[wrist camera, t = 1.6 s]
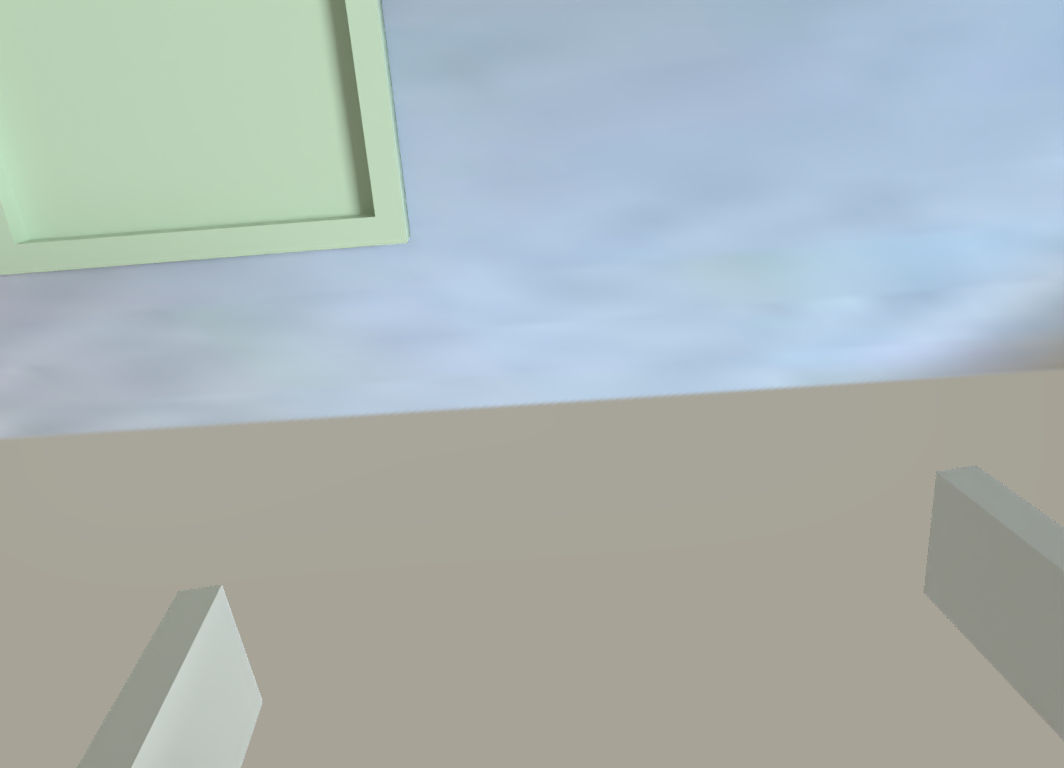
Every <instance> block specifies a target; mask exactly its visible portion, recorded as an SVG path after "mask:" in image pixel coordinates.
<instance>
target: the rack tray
mask: <svg viewBox="0 0 1064 768" xmlns="http://www.w3.org/2000/svg"><path fill="white" fill-rule="evenodd" d="M409 238H410V228H409V220H408V212H407V204H406V196H405V188H404V180H403V172H402V164H401V156H400V147H399V139H398V131H397V123H396V115H395V107H394V99H393V91H392V83H391V75H390V66H389V58H388V50H387V42H386V34H385V26H384V18H383V10H382V2H381V0H0V275H9V274H22V273H34V272H47V271H60V270H72V269H85V268H97V267H110V266H123V265H135V264H148V263H161V262H173V261H186V260H198V259H211V258H224V257H236V256H249V255H261V254H274V253H287V252H299V251H312V250H325V249H337V248H350V247H362V246H375V245H388V244H400V243H408V240H409Z"/></svg>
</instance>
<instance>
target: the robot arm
mask: <svg viewBox="0 0 1064 768" xmlns="http://www.w3.org/2000/svg"><path fill="white" fill-rule="evenodd" d="M924 593H925V594H926V596H927V597H928V598H929V599H930V600H931V601H932V602H933V603H934V604H935V605H936V606H937V607H938V608H939V609H940V610H941V611H942V612H943V614H944V615H945V616H946V617H947V618H948V619H949V620H950V621H951V622H952V623H953V624H954V625H955V626H956V627H957V628H958V629H959V630H960V632H961V633H962V634H963V635H964V636H965V637H966V638H967V639H968V640H969V641H970V642H971V643H972V644H973V645H974V646H975V647H976V648H977V649H978V650H979V652H980V653H981V654H982V655H983V656H984V657H985V658H986V659H987V660H988V661H989V662H990V663H991V664H992V665H993V666H994V668H995V669H996V670H997V671H998V672H999V673H1000V674H1001V675H1002V676H1003V677H1004V678H1005V679H1006V680H1007V681H1008V682H1009V683H1010V684H1011V686H1012V687H1014V689H1015V690H1016V691H1017V692H1018V693H1019V694H1020V695H1021V696H1022V697H1023V698H1024V699H1025V700H1026V701H1027V703H1028V704H1030V706H1031V707H1032V708H1033V709H1034V710H1035V711H1036V712H1037V713H1038V714H1039V715H1040V716H1041V717H1042V718H1043V719H1044V721H1046V723H1047V724H1048V725H1049V726H1050V727H1051V728H1052V729H1053V730H1054V731H1055V732H1056V733H1057V734H1058V735H1059V736H1060V738H1061V739H1062V740H1063V741H1064V527H1063V526H1061V525H1060V524H1058V523H1057V522H1056V521H1054V520H1053V519H1051V518H1050V517H1048V516H1047V515H1046V514H1044V513H1043V512H1041V511H1040V510H1038V509H1037V508H1036V507H1034V506H1033V505H1031V504H1030V503H1029V502H1027V501H1026V500H1024V499H1023V498H1022V497H1020V496H1019V495H1017V494H1016V493H1014V492H1013V491H1012V490H1010V489H1009V488H1007V487H1006V486H1005V485H1003V484H1002V483H1000V482H999V481H997V480H996V479H994V478H993V477H992V476H990V475H989V474H987V473H986V472H985V471H983V470H982V469H980V468H979V467H978V466H970V467H964V468H957V469H951V470H945V471H939V472H936V479H935V489H934V498H933V509H932V518H931V528H930V537H929V547H928V557H927V567H926V576H925V586H924ZM262 702H263V701H262V698H261V695H260V692H259V689H258V687H257V684H256V681H255V678H254V675H253V672H252V670H251V667H250V664H249V661H248V658H247V655H246V652H245V649H244V647H243V644H242V641H241V638H240V635H239V632H238V629H237V626H236V624H235V621H234V618H233V615H232V612H231V609H230V606H229V604H228V601H227V598H226V595H225V592H224V590H223V586H222V585H216V586H210V587H203V588H198V589H191V590H184V591H178V593H177V595H176V597H175V598H174V600H173V602H172V603H171V605H170V607H169V608H168V610H167V612H166V614H165V615H164V617H163V619H162V621H161V622H160V624H159V626H158V628H157V629H156V631H155V633H154V634H153V636H152V638H151V640H150V642H149V643H148V645H147V647H146V648H145V650H144V652H143V654H142V655H141V657H140V659H139V660H138V662H137V664H136V666H135V667H134V669H133V671H132V673H131V674H130V676H129V678H128V680H127V681H126V683H125V685H124V686H123V688H122V690H121V692H120V693H119V695H118V697H117V699H116V701H115V702H114V704H113V706H112V707H111V709H110V711H109V713H108V714H107V716H106V718H105V719H104V721H103V723H102V725H101V726H100V728H99V730H98V732H97V733H96V735H95V737H94V739H93V740H92V742H91V744H90V745H89V747H88V749H87V751H86V752H85V754H84V756H83V758H82V760H81V761H80V763H79V764H78V766H77V768H241V766H242V763H243V760H244V756H245V754H246V751H247V748H248V745H249V741H250V739H251V736H252V733H253V729H254V727H255V723H256V720H257V717H258V714H259V711H260V708H261V705H262Z"/></svg>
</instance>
